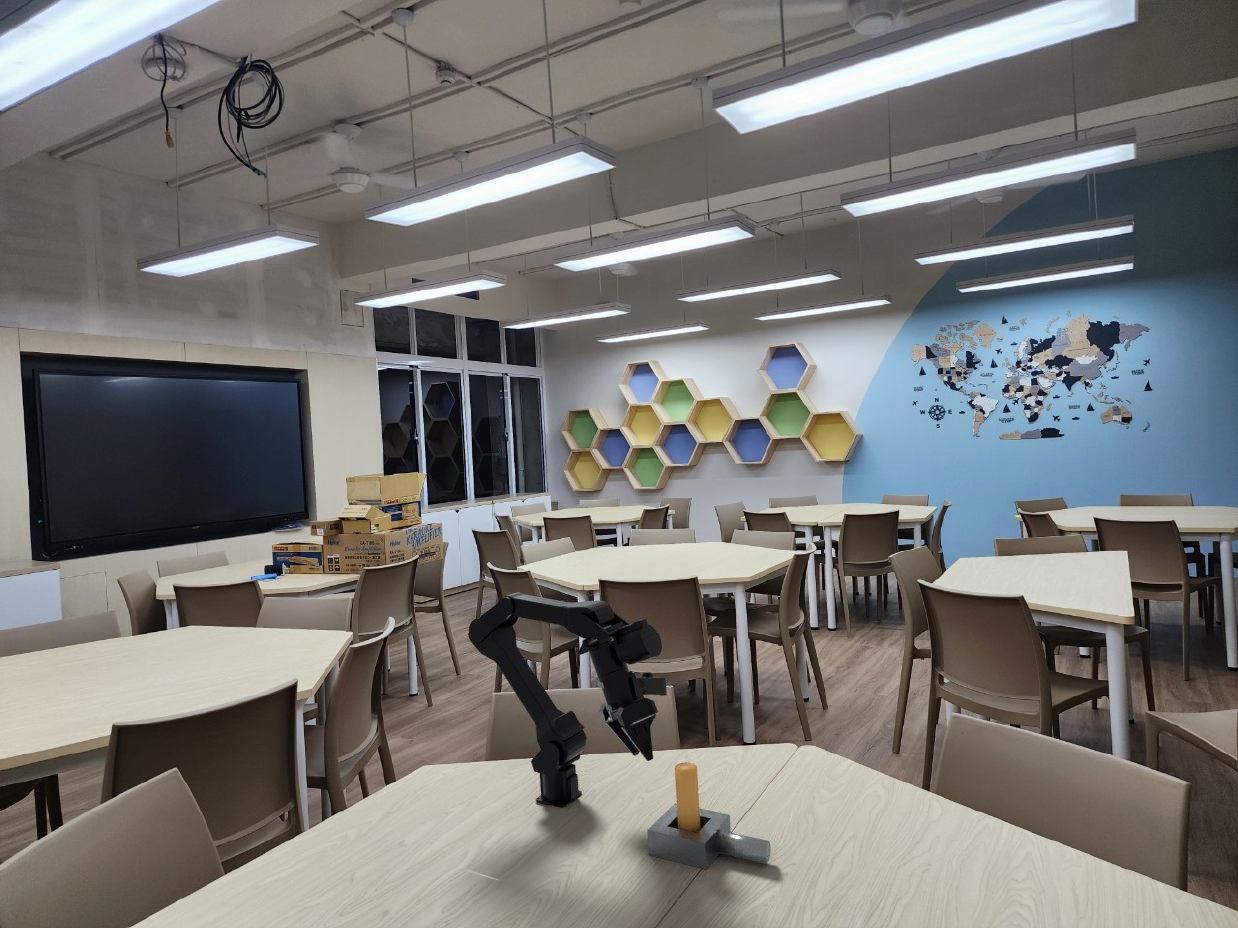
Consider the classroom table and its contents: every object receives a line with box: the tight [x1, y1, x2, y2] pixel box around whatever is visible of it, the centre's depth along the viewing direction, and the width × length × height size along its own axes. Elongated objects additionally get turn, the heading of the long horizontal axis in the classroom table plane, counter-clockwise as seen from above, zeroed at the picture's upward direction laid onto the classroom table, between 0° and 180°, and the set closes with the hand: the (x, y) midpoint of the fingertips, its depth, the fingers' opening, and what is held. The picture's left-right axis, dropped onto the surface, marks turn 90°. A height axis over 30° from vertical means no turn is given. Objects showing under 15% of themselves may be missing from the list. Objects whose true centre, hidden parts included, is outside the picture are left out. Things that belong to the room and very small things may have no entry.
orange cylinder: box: [674, 762, 701, 833], centre depth 122 cm, size 4×4×13 cm
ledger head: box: [646, 802, 772, 870], centre depth 120 cm, size 18×10×4 cm, turn 60°
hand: (643, 757), depth 133 cm, fingers open, 9 cm apart
